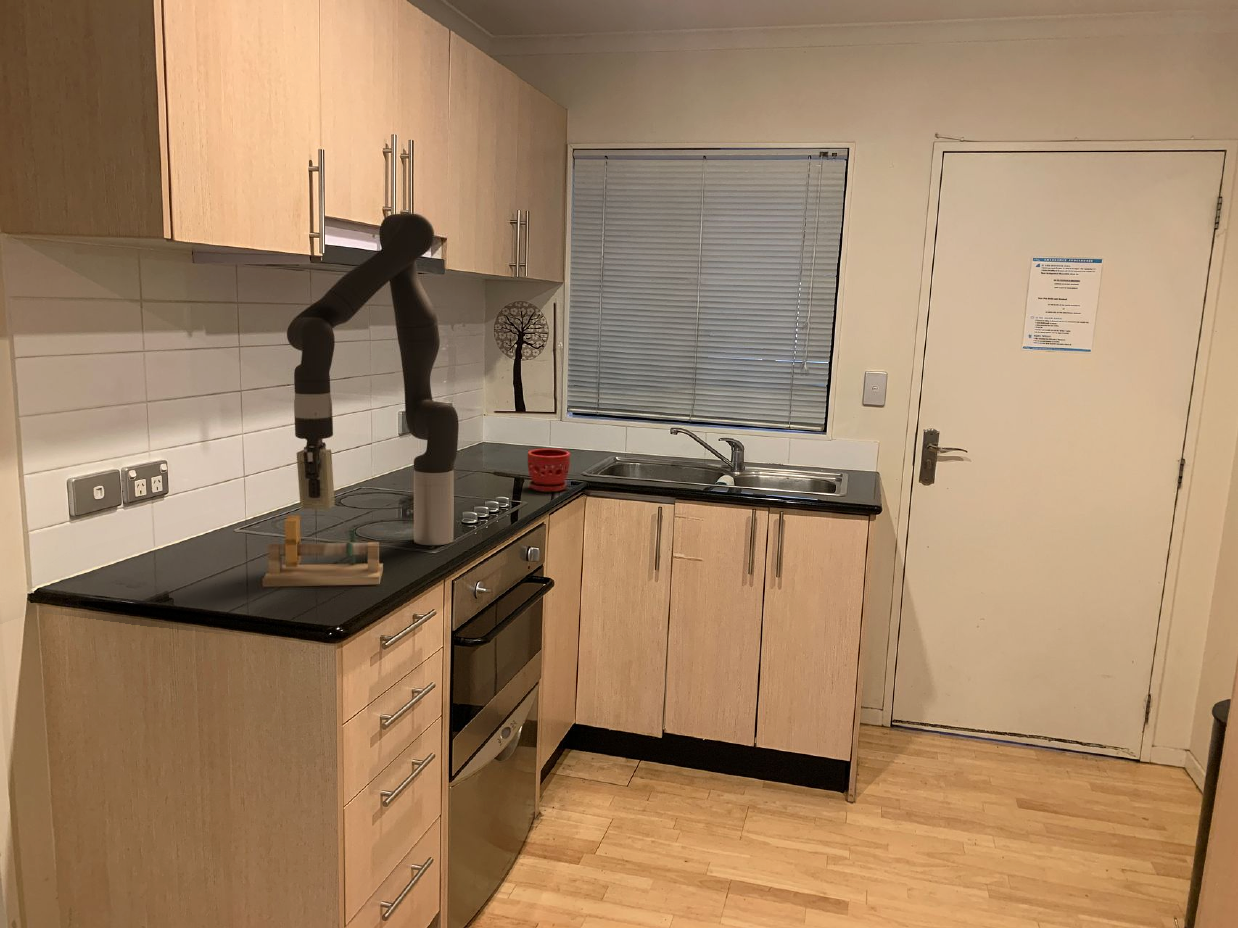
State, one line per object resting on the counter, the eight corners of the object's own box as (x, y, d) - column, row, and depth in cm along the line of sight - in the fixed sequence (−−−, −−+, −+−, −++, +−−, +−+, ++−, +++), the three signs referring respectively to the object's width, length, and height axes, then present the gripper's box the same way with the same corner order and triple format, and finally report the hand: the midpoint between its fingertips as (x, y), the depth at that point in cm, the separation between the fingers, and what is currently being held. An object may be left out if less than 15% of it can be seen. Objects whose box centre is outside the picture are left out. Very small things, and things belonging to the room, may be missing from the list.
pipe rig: (272, 572, 186) (271, 529, 185) (382, 570, 190) (382, 528, 189) (262, 586, 177) (261, 541, 175) (379, 584, 181) (378, 540, 179)
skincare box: (335, 505, 194) (333, 449, 192) (329, 510, 190) (327, 452, 188) (304, 504, 194) (302, 448, 192) (298, 509, 190) (296, 452, 187)
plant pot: (519, 487, 284) (519, 450, 282) (554, 484, 292) (555, 447, 290) (541, 495, 274) (541, 456, 272) (577, 491, 282) (578, 453, 280)
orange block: (290, 559, 184) (289, 514, 183) (301, 559, 185) (300, 514, 183) (285, 567, 179) (284, 521, 177) (296, 567, 179) (295, 521, 178)
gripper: (327, 419, 182) (330, 502, 185) (336, 410, 196) (339, 487, 199) (288, 419, 181) (292, 502, 184) (300, 410, 194) (303, 488, 198)
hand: (316, 494), depth 191 cm, fingers closed on skincare box, 4 cm apart
